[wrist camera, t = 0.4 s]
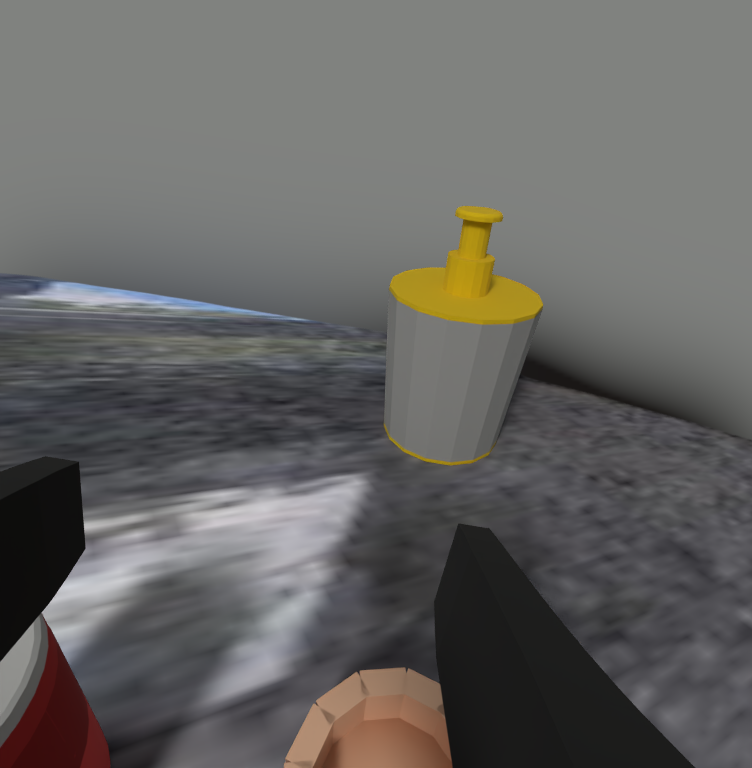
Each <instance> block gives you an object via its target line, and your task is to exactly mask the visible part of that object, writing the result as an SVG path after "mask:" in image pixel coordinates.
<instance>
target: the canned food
mask: <svg viewBox="0 0 752 768" xmlns="http://www.w3.org/2000/svg"><path fill="white" fill-rule="evenodd" d="M0 768H110V756H109V749H108V744H107V741H106V739H105V736H104V734H103V731H102V729H101V727H100V725H99V723H98V721H97V719H96V717H95V715H94V713H93V712H92V710H91V708H90V706H89V704H88V702H87V700H86V698H85V696H84V694H83V692H82V690H81V688H80V686H79V684H78V682H77V680H76V678H75V676H74V674H73V672H72V670H71V668H70V666H69V664H68V662H67V660H66V658H65V656H64V654H63V652H62V650H61V648H60V646H59V644H58V642H57V640H56V638H55V636H54V634H53V632H52V630H51V629H50V627H49V626H48V624H47V622H46V621H45V619H44V617H43V615H42V613H41V614H40V615H39V616H38V617H37V619H36V620H35V621H34V622H33V623H32V625H31V626H30V627H29V628H28V629H27V631H26V632H25V633H24V634H23V635H22V637H21V638H20V639H19V640H18V641H17V643H16V644H15V645H14V646H13V647H12V649H11V650H10V651H9V652H8V653H7V655H6V656H5V657H4V658H3V659H2V660H1V662H0Z"/></svg>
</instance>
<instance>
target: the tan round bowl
mask: <svg viewBox="0 0 752 768" xmlns="http://www.w3.org/2000/svg"><path fill="white" fill-rule="evenodd" d="M285 759H286V763H284V768H453V767H452V760H451V753H450V747H449V740H448V733H447V727H446V720H445V714H444V707H443V700H442V693H441V686H440V684H439V683H437V682H435V681H433V680H431V679H429V678H427V677H425V676H423V675H421V674H419V673H417V672H415V671H413V670H411V669H409V668H408V671H407V673H406V669H405V667H404V668H389V669H375V670H360V673H359V674H358V673H357V672H356V673H354V674H353V675H351V676H350V677H349V678H347V679H346V680H344V681H343V682H342V683H340V684H339V685H337V686H336V687H334V688H333V689H332V690H330V691H329V692H327V693H326V694H325V695H323V696H322V697H320V698H319V699H318V700H316V705H315V704H313V706H312V708H311V709H310V711H309V713H308V715H307V717H306V719H305V721H304V723H303V725H302V727H301V729H300V731H299V733H298V735H297V737H296V739H295V741H294V743H293V745H292V747H291V748H290V750H289V752H288V754H287V756H286V758H285Z"/></svg>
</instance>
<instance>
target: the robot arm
mask: <svg viewBox="0 0 752 768" xmlns="http://www.w3.org/2000/svg"><path fill="white" fill-rule="evenodd" d="M84 550H85V535H84V522H83V509H82V496H81V483H80V470H79V462H76V461H70V460H64V459H58V458H52V457H46V456H45V457H42V458H39V459H36V460H33V461H29V462H26V463H23V464H21V465H18V466H15V467H12V468H9V469H7V470H4V471H1V472H0V662H1V660H2V659H3V658H4V657H5V656H6V655H7V653H8V652H9V651H10V650H11V649H12V647H13V646H14V645H15V644H16V643H17V641H18V640H19V639H20V638H21V637H22V635H23V634H24V633H25V632H26V631H27V629H28V628H29V627H30V626H31V625H32V623H33V622H34V621H35V620H36V619H37V617H38V616H39V615H40V614H41V613H42V611H43V610H44V609H45V608H46V606H47V605H48V604H49V603H50V601H51V600H52V599H53V597H54V596H55V594H56V593H57V591H58V590H59V588H60V587H61V586H62V584H63V583H64V581H65V580H66V578H67V577H68V575H69V574H70V572H71V570H72V569H73V567H74V566H75V564H76V563H77V561H78V559H79V558H80V556H81V555H82V553H83V552H84ZM434 610H435V639H436V658H437V665H438V673H439V680H440V686H441V693H442V700H443V707H444V714H445V720H446V727H447V733H448V740H449V747H450V753H451V760H452V767H453V768H695V767H694V766H693V765H692V764H691V763H690V762H689V761H688V760H687V759H686V758H685V757H684V756H683V755H682V754H681V753H680V752H679V751H678V750H677V749H676V748H675V747H674V746H673V745H672V744H671V743H670V742H669V741H668V740H667V739H666V738H665V737H664V736H663V734H662V733H661V732H660V731H659V730H658V729H657V728H656V727H655V726H654V725H653V724H652V723H651V722H650V721H649V720H648V719H647V718H646V717H645V716H644V715H643V714H642V713H641V712H640V711H639V710H638V709H637V708H636V707H635V705H634V704H633V703H632V702H631V701H630V700H629V699H628V698H627V697H626V696H625V695H624V694H623V693H622V691H621V690H620V689H619V688H618V687H617V686H616V685H615V684H614V682H613V681H612V680H611V679H610V678H609V677H608V676H607V674H606V673H605V672H604V671H603V670H602V669H601V668H600V666H599V665H598V664H597V663H596V662H595V661H594V660H593V659H592V657H591V656H590V655H589V654H588V653H587V652H586V651H585V649H584V648H583V647H582V646H581V645H580V643H579V642H578V641H577V640H576V639H575V637H574V636H573V635H572V634H571V633H570V631H569V630H568V629H567V628H566V627H565V625H564V624H563V623H562V622H561V620H560V619H559V618H558V617H557V615H556V614H555V613H554V612H553V610H552V609H551V608H550V607H549V605H548V604H547V603H546V602H545V600H544V599H543V598H542V597H541V595H540V594H539V593H538V591H537V590H536V589H535V588H534V586H533V585H532V584H531V582H530V581H529V580H528V578H527V577H526V576H525V574H524V573H523V572H522V571H521V569H520V568H519V567H518V565H517V564H516V563H515V561H514V560H513V559H512V557H511V556H510V555H509V553H508V552H507V551H506V549H505V548H504V547H503V545H502V544H501V543H500V542H499V540H498V539H497V538H496V536H495V535H494V534H493V533H492V531H491V530H490V529H489V528H482V527H476V526H470V525H464V524H458V527H457V530H456V533H455V536H454V540H453V543H452V546H451V549H450V553H449V556H448V559H447V562H446V566H445V569H444V572H443V575H442V579H441V582H440V585H439V588H438V591H437V595H436V598H435V601H434Z"/></svg>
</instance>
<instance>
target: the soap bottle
mask: <svg viewBox="0 0 752 768" xmlns="http://www.w3.org/2000/svg"><path fill="white" fill-rule="evenodd" d="M455 216H457V217H459V218H462V219H464V220H463V226H462V232H461V238H460V243H459V249H458V250H452V251H450V252H449V253H448V259H447V265H446V268H421V269H414V270H407V271H405V272H403V273H400V274H398V275H396V276H394V277H393V279H392V281H391V284H390V288H389V301H388V331H387V356H386V384H385V412H384V427H385V429H386V432H387V434H388V437H389V439H390V440H391V441H392V442H393V443H394V444H396V445H397V446H398V447H399V448H400V449H401V450H402V451H403V452H405V453H408V454H410V455H412V456H414V457H417V458H419V459H421V460H423V461H426V462H432V463H438V464H444V465H458V464H467V463H473V462H475V461H477V460H479V459H481V458H483V457H485V456H487V455H489V453H490V452H491V450H492V449H493V447H494V446H495V444H496V442H497V438H498V436H499V433H500V430H501V427H502V424H503V421H504V418H505V415H506V413H507V410H508V407H509V404H510V401H511V398H512V395H513V393H514V390H515V387H516V384H517V381H518V378H519V375H520V372H521V369H522V367H523V363H524V361H525V358H526V355H527V352H528V349H529V347H530V344H531V341H532V338H533V335H534V332H535V329H536V326H537V323H538V321H539V318H540V315H541V312H542V308H543V303H542V301H541V299H540V297H539V295H538V294H537V293H535V292H534V291H532V290H531V289H529V288H528V287H526V286H525V285H523V284H520V283H518V282H515V281H512V280H510V279H507V278H505V277H502V276H497V275H493V274H492V271H493V266H494V262H495V259H494V257H493V256H491V255H489V254H486V252H487V246H488V242H489V237H490V232H491V227H492V223H494V222H501V221H502V219H503V215H502V213H501V212H500V211H497V210H494V209H490V208H485V207H475V206H462V207H459V208H457V210H456V214H455Z"/></svg>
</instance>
